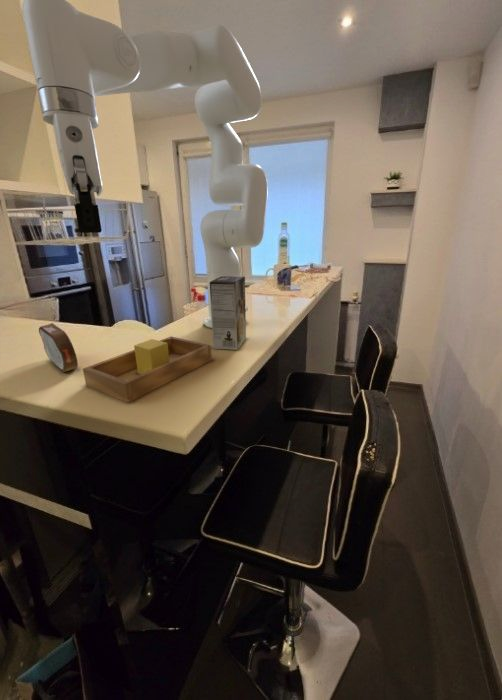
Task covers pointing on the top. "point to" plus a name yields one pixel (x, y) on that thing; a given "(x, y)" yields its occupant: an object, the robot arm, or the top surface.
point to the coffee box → (228, 312)
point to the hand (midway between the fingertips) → (90, 232)
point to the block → (151, 355)
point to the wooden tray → (105, 371)
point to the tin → (58, 347)
